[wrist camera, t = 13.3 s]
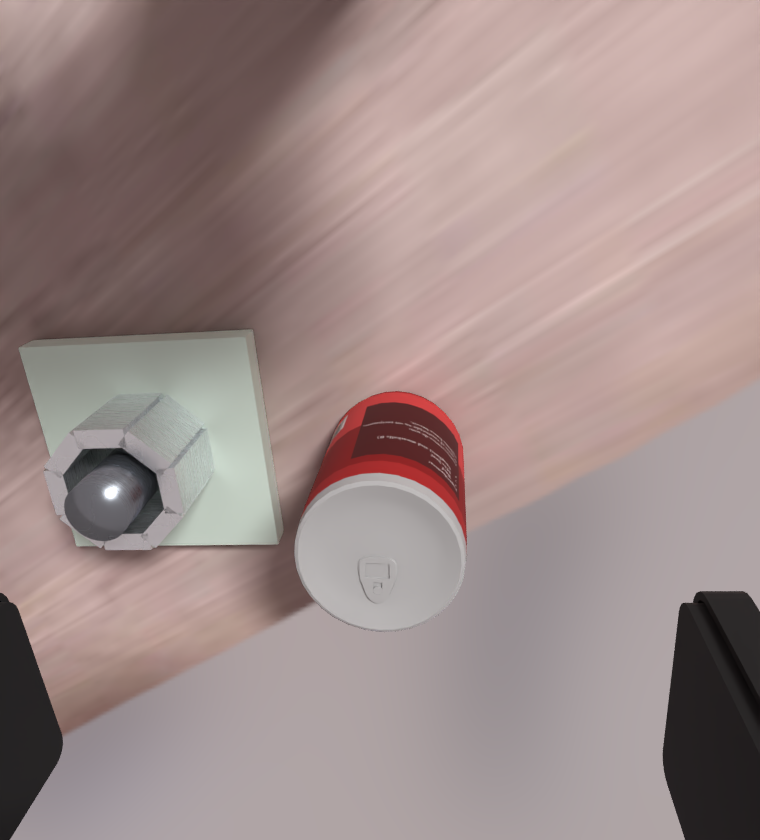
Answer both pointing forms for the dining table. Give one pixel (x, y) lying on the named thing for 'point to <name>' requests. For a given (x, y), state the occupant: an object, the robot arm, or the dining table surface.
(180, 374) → the green board
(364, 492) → the canned food
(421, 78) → the dining table surface
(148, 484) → the steel post
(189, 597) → the dining table surface
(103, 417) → the metal ring
